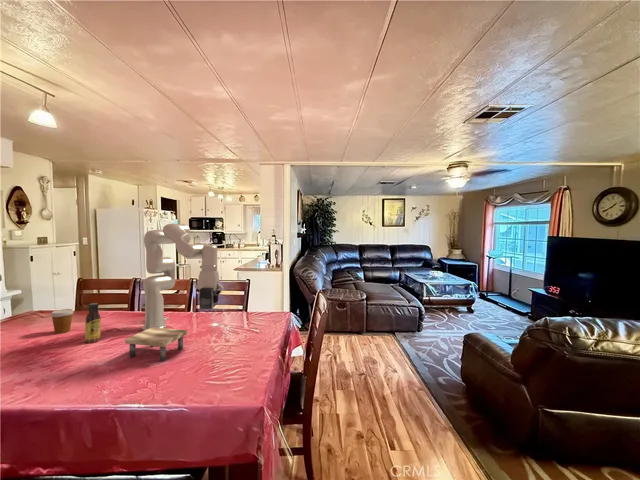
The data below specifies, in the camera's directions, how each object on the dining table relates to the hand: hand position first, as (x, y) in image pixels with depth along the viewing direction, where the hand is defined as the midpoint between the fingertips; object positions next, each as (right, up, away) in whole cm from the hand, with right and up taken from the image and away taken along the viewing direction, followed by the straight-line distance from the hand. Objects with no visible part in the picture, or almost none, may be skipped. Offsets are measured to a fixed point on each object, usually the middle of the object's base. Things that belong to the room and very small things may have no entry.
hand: (208, 301), depth 143 cm
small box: (0, -3, 0) cm, 3 cm away
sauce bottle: (-62, -21, +1) cm, 65 cm away
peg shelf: (-20, -22, -11) cm, 32 cm away
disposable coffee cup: (-89, -20, +13) cm, 92 cm away
